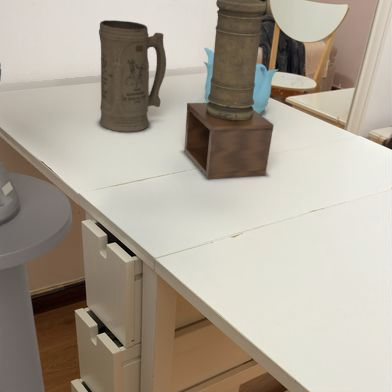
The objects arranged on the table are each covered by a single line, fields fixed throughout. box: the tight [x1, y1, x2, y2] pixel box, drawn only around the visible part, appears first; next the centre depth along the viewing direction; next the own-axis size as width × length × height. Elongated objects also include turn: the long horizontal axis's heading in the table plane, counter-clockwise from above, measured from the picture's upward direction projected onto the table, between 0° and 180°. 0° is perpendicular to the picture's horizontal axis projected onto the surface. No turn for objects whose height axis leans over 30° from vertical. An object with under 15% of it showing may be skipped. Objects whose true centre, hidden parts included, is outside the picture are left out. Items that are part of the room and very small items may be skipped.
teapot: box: [203, 47, 279, 115], centre depth 131 cm, size 17×19×12 cm
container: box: [206, 0, 267, 121], centre depth 94 cm, size 9×9×18 cm
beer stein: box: [98, 19, 167, 133], centre depth 114 cm, size 15×11×20 cm
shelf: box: [184, 102, 275, 180], centre depth 103 cm, size 12×14×10 cm
